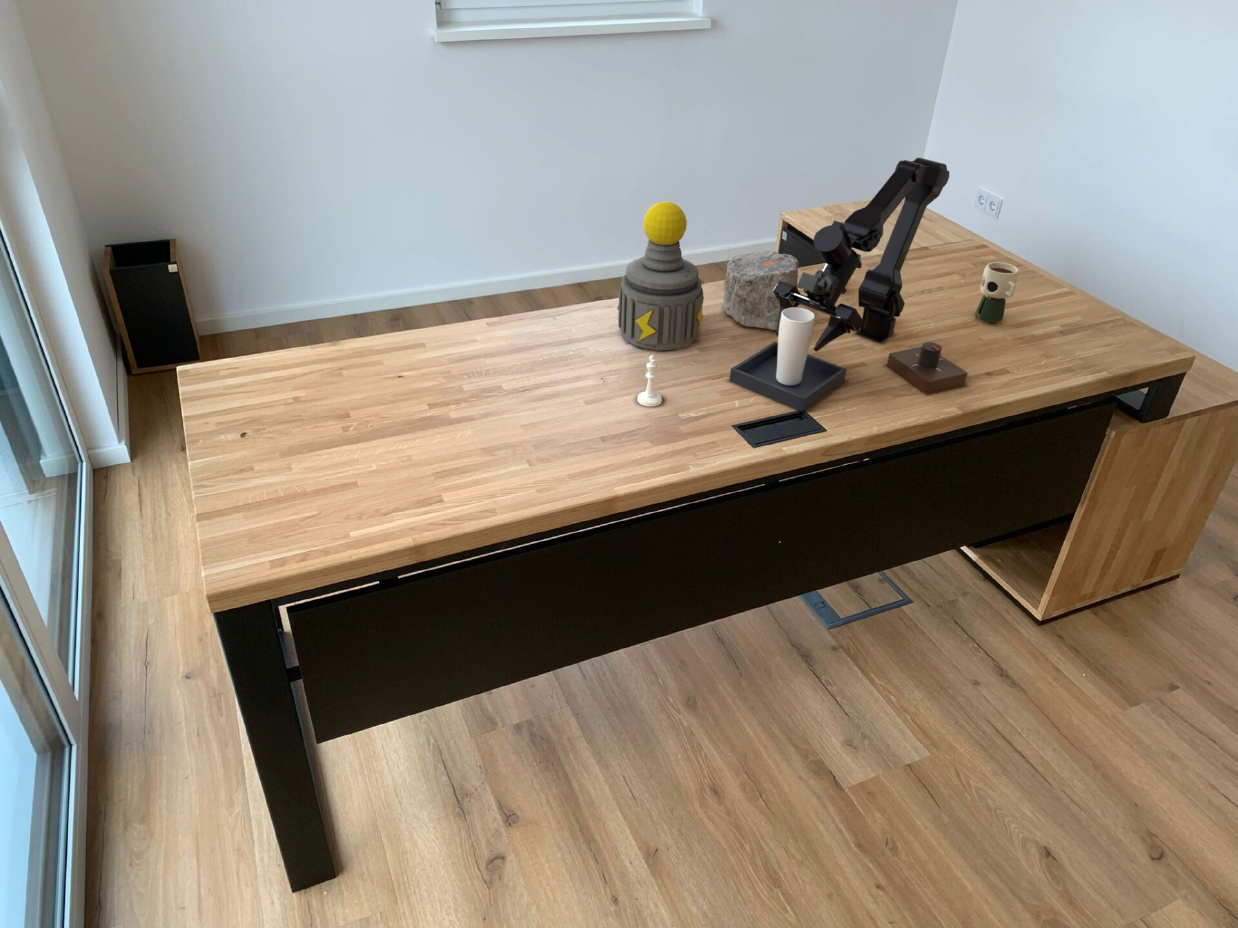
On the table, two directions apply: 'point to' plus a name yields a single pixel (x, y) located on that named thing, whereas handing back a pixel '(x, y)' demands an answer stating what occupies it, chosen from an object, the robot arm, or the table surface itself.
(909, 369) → the control box
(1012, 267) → the character mug
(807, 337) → the drinking glass
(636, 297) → the decorative lamp
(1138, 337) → the table surface
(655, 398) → the chess piece
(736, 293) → the petrified wood
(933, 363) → the dial
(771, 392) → the tray
